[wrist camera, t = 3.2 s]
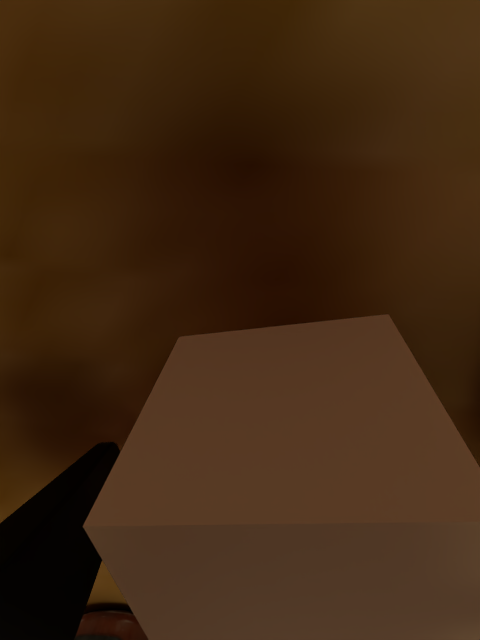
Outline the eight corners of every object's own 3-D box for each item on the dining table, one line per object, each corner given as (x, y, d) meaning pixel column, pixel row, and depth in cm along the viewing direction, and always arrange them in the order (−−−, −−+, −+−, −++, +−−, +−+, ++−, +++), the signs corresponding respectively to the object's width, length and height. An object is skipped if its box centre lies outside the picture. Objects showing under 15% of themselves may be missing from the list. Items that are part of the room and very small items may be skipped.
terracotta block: (387, 312, 8) (511, 521, 4) (387, 466, 10) (464, 712, 6) (180, 335, 9) (83, 526, 5) (219, 472, 11) (179, 692, 7)
